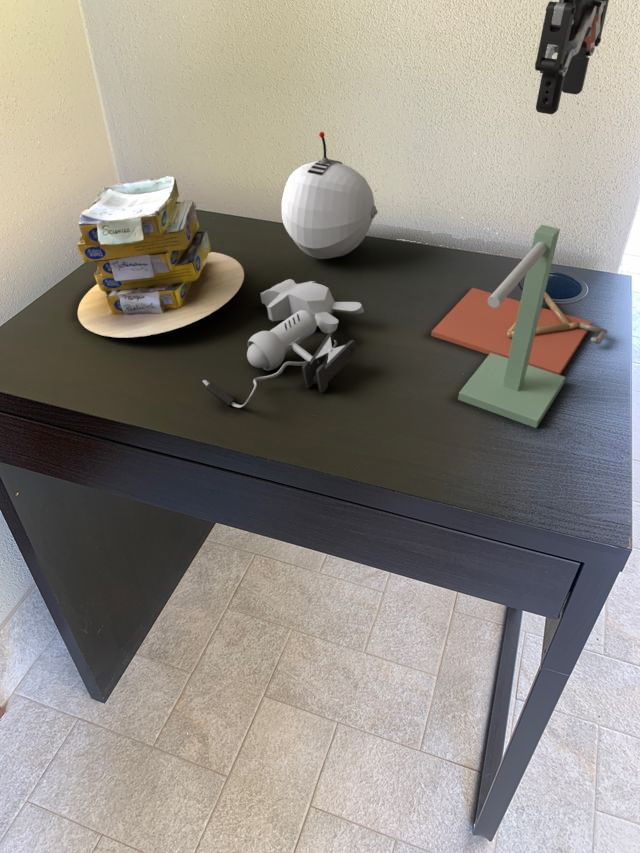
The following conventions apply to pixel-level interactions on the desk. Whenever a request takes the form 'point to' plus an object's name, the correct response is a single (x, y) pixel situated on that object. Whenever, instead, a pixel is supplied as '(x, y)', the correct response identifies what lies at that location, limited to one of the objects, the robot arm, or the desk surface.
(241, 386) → the desk surface
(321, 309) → the bunny figurine
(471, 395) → the hook stand
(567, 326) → the hanger
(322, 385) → the clip-on lamp
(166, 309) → the stacked boxes on plate
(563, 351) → the mat
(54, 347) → the desk surface
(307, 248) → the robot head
